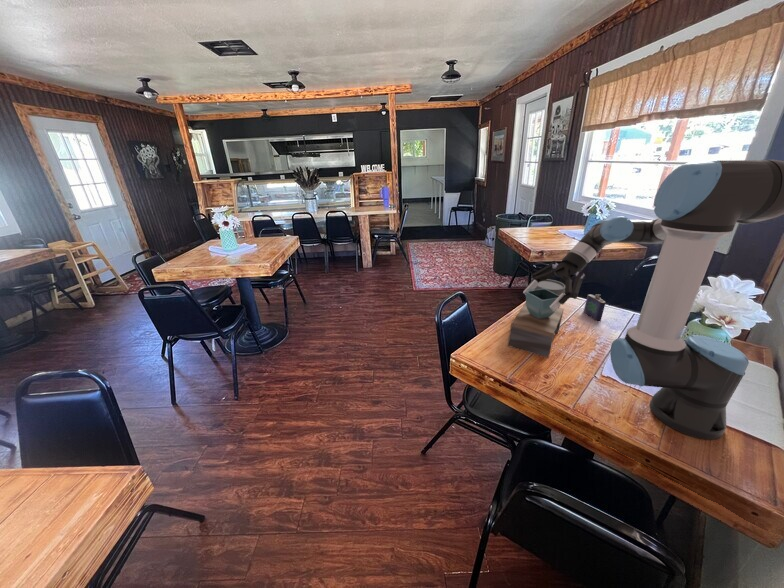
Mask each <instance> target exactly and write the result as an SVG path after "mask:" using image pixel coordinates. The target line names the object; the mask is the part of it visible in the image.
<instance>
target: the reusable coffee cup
mask: <svg viewBox="0 0 784 588" xmlns="http://www.w3.org/2000/svg"><path fill="white" fill-rule="evenodd" d="M538 289H547V290H549V291H550V292H553V293H555V294H557V295H559V296H560V295H561V294H562V293H564V292H565V283H563V282H562V281H559V280H555V279H551V278H549V279H546V280H544V281H541V282H539V285H538V286H537V287H536V288H535V289H534V290H538ZM564 294H565V293H564ZM558 308H561V305H560V306H559V307H558Z"/></svg>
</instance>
